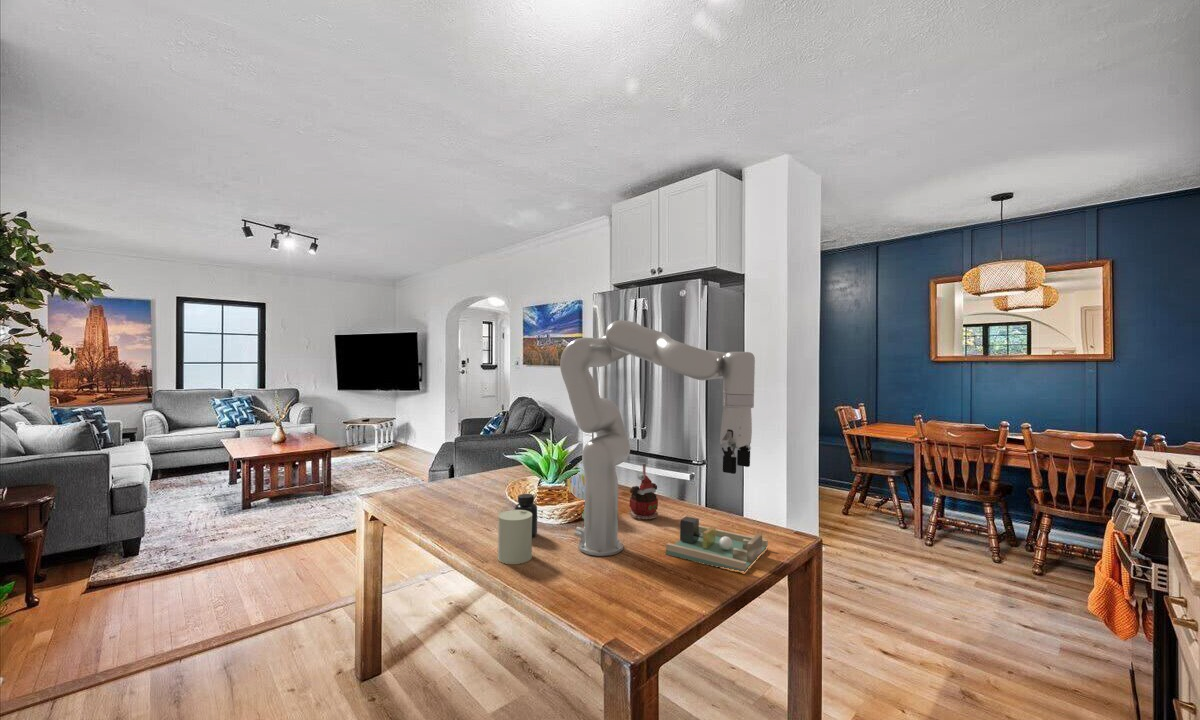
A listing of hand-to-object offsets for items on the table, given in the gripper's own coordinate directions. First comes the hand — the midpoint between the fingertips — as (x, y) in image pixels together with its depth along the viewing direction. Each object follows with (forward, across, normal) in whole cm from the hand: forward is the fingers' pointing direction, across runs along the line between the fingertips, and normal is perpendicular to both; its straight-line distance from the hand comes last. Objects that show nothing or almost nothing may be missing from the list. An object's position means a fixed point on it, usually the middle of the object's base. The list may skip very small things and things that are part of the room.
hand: (736, 469), depth 125 cm
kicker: (+25, -11, -15) cm, 32 cm away
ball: (+24, -12, -7) cm, 27 cm away
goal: (+25, -12, -1) cm, 28 cm away
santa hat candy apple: (+27, -26, -42) cm, 56 cm away
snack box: (+27, -17, -61) cm, 69 cm away
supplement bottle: (+27, +12, -61) cm, 68 cm away
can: (+27, +26, -51) cm, 63 cm away
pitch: (+27, -11, -9) cm, 30 cm away
